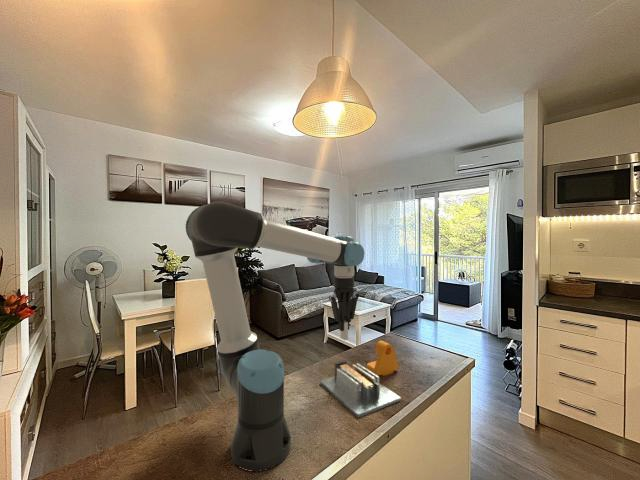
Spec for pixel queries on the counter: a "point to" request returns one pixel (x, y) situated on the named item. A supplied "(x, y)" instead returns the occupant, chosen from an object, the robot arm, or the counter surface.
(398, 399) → the heatsink
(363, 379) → the strap
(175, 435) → the counter surface
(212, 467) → the counter surface
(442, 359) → the counter surface
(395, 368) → the bracket
